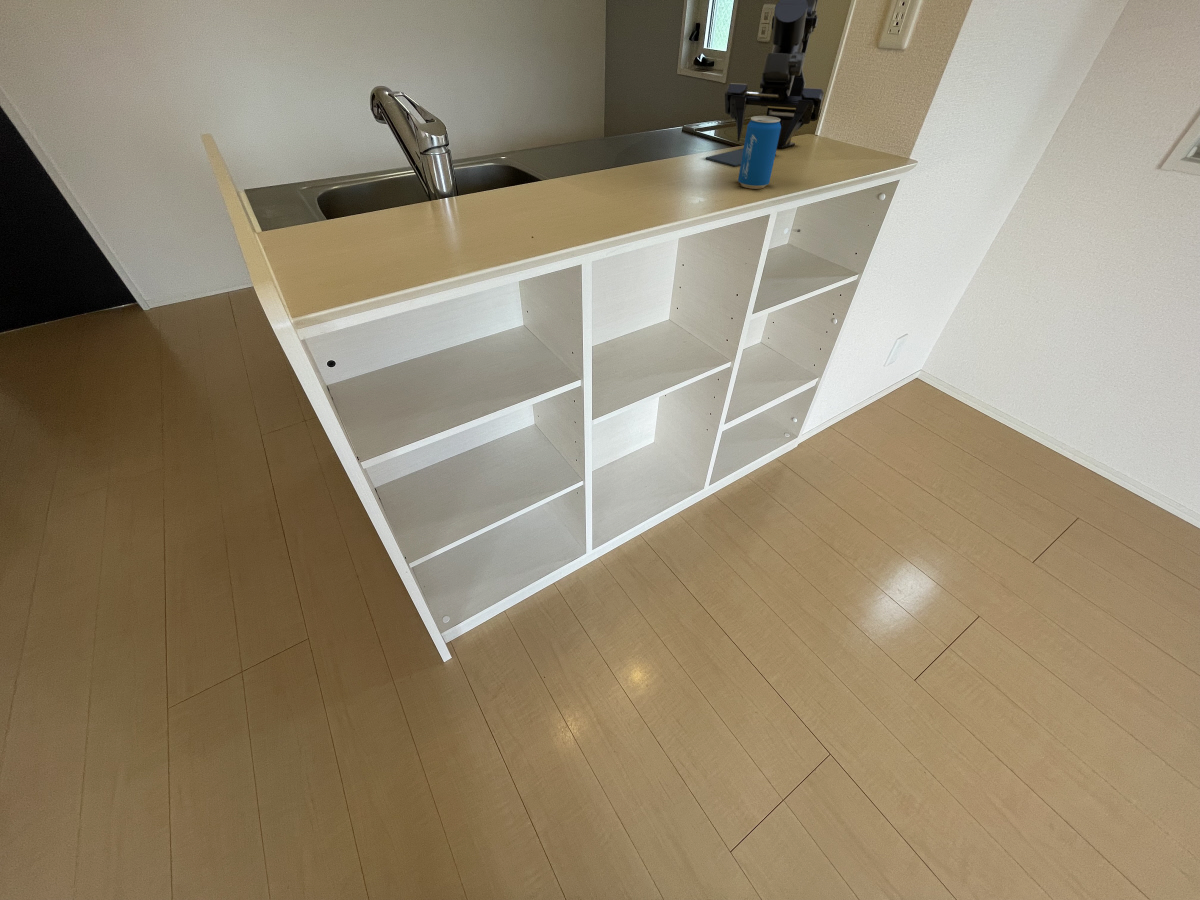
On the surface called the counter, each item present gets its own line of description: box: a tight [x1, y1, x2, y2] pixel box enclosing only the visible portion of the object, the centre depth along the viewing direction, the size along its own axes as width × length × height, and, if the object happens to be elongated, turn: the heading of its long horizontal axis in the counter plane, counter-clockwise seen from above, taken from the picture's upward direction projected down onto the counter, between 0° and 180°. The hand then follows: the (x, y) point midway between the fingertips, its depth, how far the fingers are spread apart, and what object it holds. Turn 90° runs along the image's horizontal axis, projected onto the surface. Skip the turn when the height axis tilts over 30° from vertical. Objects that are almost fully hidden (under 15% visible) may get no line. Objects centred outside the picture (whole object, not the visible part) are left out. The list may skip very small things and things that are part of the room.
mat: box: [705, 147, 777, 168], centre depth 124 cm, size 16×9×1 cm, turn 130°
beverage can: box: [737, 115, 781, 190], centre depth 103 cm, size 6×6×12 cm
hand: (761, 141), depth 101 cm, fingers open, 9 cm apart
